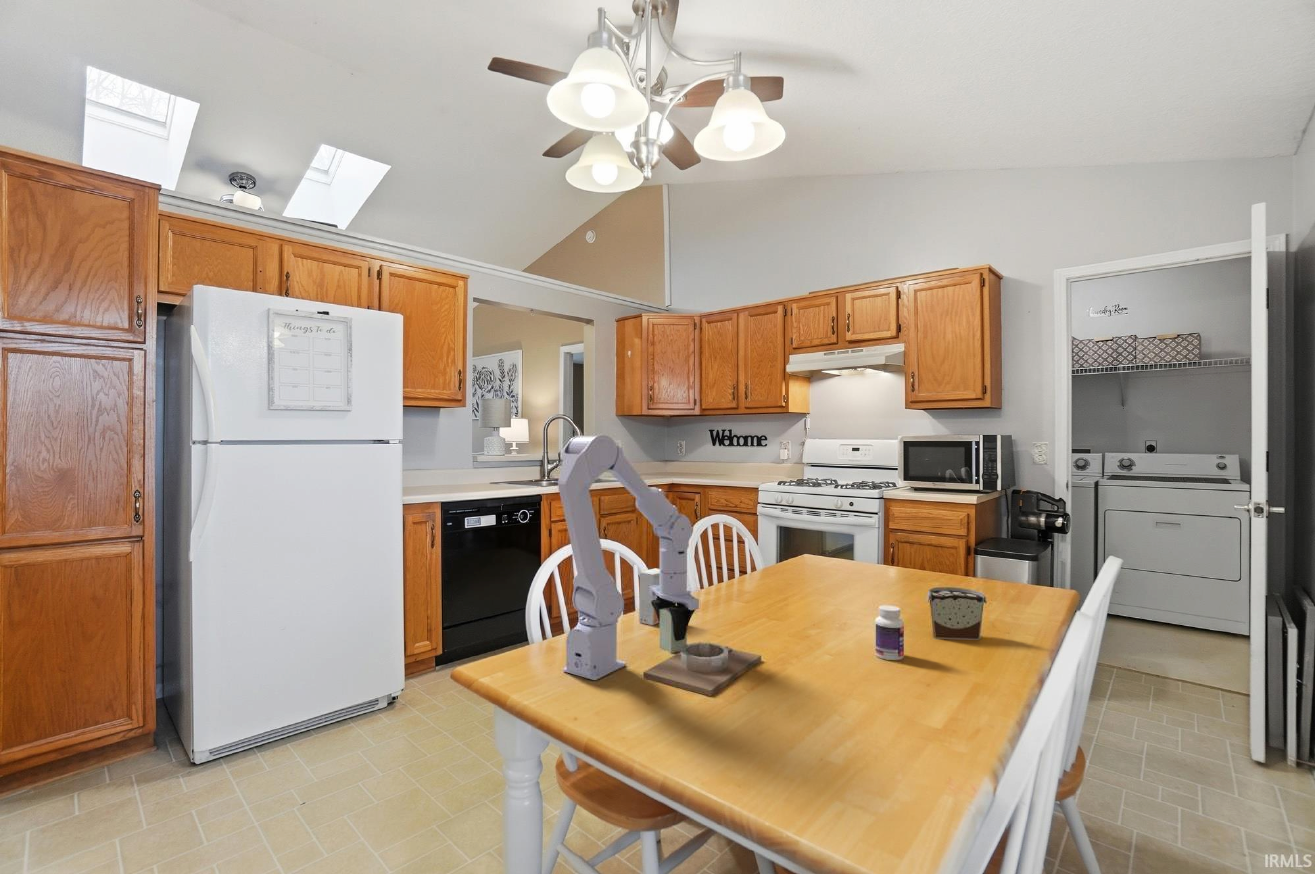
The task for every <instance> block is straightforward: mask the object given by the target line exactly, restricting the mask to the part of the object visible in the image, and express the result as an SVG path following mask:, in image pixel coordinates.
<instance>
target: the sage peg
mask: <svg viewBox="0 0 1315 874" xmlns="http://www.w3.org/2000/svg"><path fill="white" fill-rule="evenodd" d="M687 635H688V633H687V631H686V635H685V639H683V640H679V641H676V640H675V638H674V630H673V621H672V617H671V614H670V611H669V609H668V608H663V609H660V624H659V648H660V649H662V650H664V651H665V652H668V653H670V654H673V653H677V652H678V653H679V652H681V648H682V647H683V646H685V645H687V644H688V643H687V641H688V639H687V638H688V637H687Z"/></svg>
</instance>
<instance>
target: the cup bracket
mask: <svg viewBox="0 0 1315 874" xmlns="http://www.w3.org/2000/svg"><path fill="white" fill-rule="evenodd" d="M761 661H762V655H760V654H756V653H751V652H746V651H742V650H737V649H734V648H732V647H729V646H727V645H725V646H723V645H722V644H718V643H713V642H705V641H704V642H700V641H698V642H692V643H687V645H685V646H683V647H682V648H681V651H679V652H678V653H676V654H674V655H672V656H671V657H669V658H667V659H665V660H663V661H661V662H659V663H658V664H656V665H654V666H652V667H649V668H648V669H647V670H644V671H643V676H642V677H643V679H646V680H647V679H648V680H651V681H655V682H658V683H662V684H665V685H668V686H669V685H670V686H672V687H676V688H680V689H682V690H686V691H691V692H693V693H698V694H701V695H705V696H708V697H711V696H713V695H715V694H716V693H717V692H719V691H720V690H721V689H723V688H724V687H726V686H728V685H729V684H730V683H731V682H733V681H734V680H736V679H737V678H739V677H740V676H742V675H743V674H745V673H746V672H747V671H749V670H750V669H752V668H753V667H754V666H756V665H758V663H760V662H761Z"/></svg>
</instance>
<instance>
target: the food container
mask: <svg viewBox="0 0 1315 874" xmlns="http://www.w3.org/2000/svg"><path fill="white" fill-rule="evenodd" d="M926 602H928V603H929V606H930V608H929V609H930V617H931V625H932V626H931V627H932V635H933V636H932V637H933V638H934V639H939V640H940V639H941V640H969V641H972V640H973V641H980V639H981V630H982V623H983V622H982V621H983V613H984V604H986V605H987V598H986V596H985V593H983V592H981V591H977V590H974V589H970V588H962V587H955V586H953V587H952V586H939V587H931V588H930V589H929V590H928V592H927V594H926Z"/></svg>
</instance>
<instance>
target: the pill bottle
mask: <svg viewBox="0 0 1315 874" xmlns="http://www.w3.org/2000/svg"><path fill="white" fill-rule="evenodd" d="M878 615H879V616H877V617H875V619H874V654H875V656H876V657H878V658H879V659H882V660H885V661H886V660H887V661H900V660H902V659H904V655H905V654H904V652H905V650H904V649H905V648H904V647H905V646H904V644H905V643H904V641H905V624H904V621H903V620H902V619H901V618H900V616H901V608H900V607H898V606H896V605H889V604H888V605H886V604H885V605H884V604H883V605H879V606H878Z"/></svg>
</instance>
